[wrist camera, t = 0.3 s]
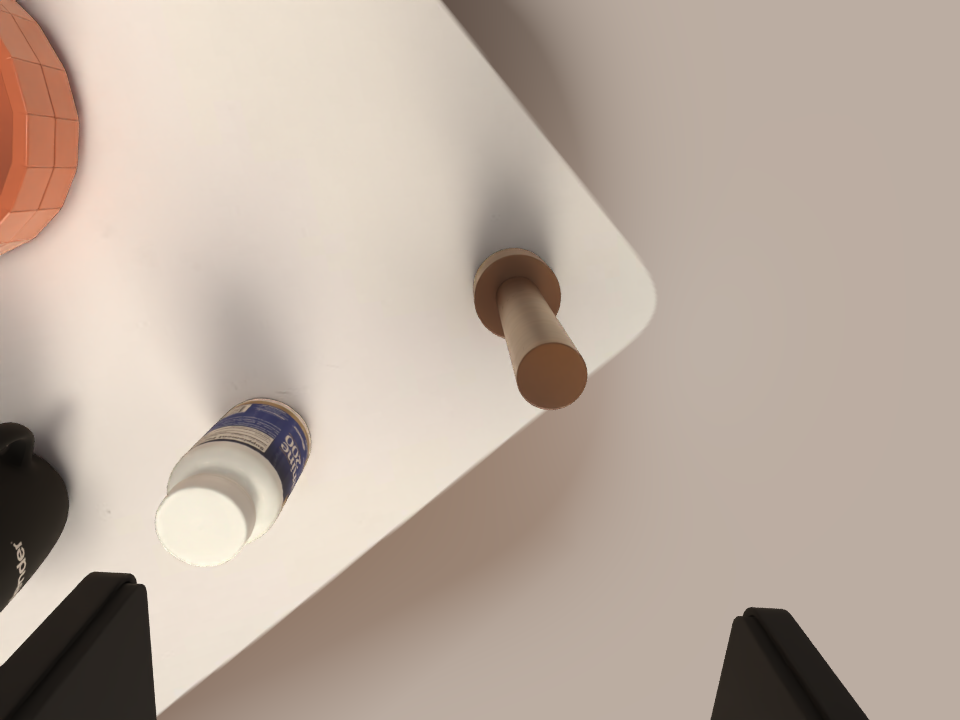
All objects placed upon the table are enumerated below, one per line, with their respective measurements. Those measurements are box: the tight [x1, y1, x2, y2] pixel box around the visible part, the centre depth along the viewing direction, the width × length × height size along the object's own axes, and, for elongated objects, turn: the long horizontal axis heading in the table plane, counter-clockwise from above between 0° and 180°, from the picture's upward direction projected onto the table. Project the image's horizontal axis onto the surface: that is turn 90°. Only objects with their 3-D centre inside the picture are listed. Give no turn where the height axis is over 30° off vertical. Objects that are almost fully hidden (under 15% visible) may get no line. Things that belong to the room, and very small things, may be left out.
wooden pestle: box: [473, 248, 587, 410], centre depth 27 cm, size 4×4×16 cm
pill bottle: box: [155, 399, 311, 567], centre depth 32 cm, size 5×5×10 cm
